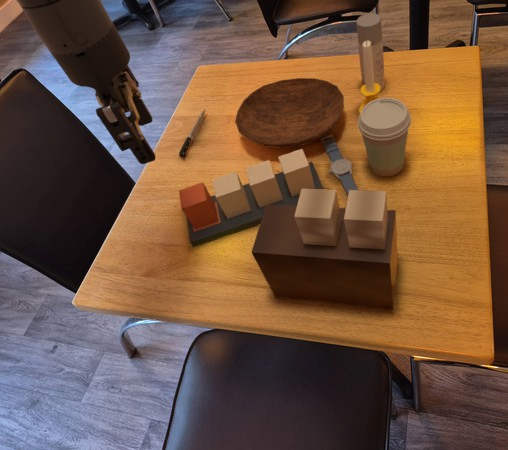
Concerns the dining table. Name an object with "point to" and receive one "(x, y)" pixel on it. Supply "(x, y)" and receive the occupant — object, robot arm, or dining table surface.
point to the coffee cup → (385, 134)
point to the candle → (368, 76)
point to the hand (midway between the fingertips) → (147, 141)
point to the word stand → (330, 249)
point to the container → (371, 32)
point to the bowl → (290, 112)
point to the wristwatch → (339, 165)
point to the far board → (248, 216)
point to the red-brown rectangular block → (198, 205)
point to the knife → (192, 135)
